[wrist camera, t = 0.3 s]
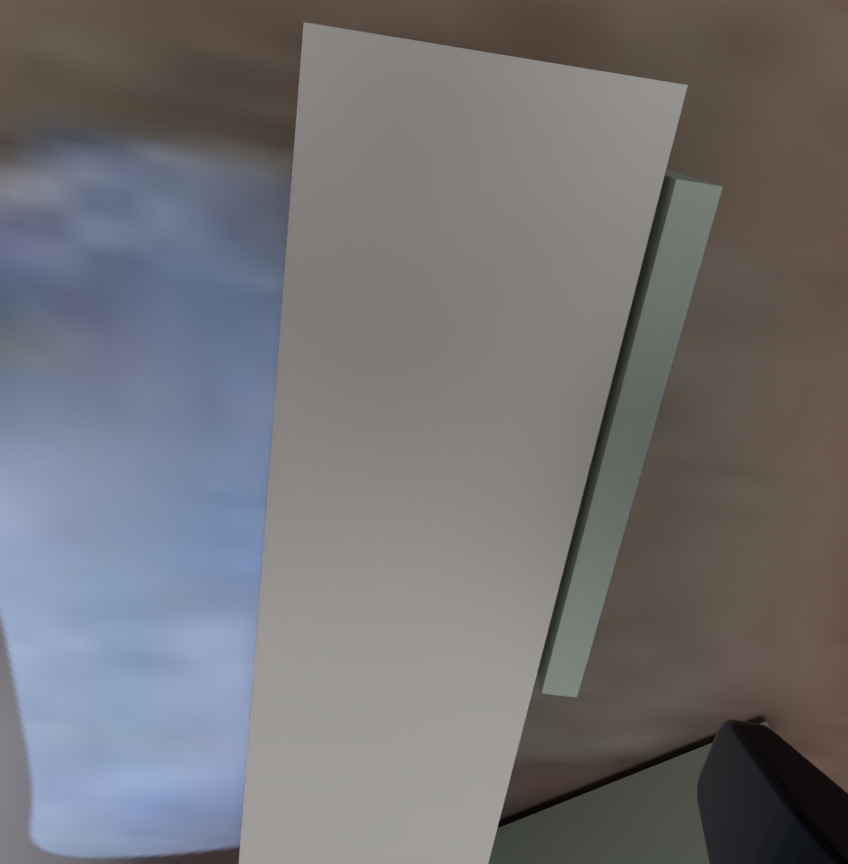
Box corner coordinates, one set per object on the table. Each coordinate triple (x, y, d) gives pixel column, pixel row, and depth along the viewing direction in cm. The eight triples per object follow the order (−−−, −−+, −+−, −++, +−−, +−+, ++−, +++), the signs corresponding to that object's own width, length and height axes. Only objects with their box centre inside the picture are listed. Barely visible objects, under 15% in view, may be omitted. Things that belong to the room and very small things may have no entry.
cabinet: (489, 858, 29) (507, 1077, 23) (269, 835, 28) (224, 1051, 22) (683, 102, 19) (817, 106, 12) (346, 47, 18) (303, 22, 12)
